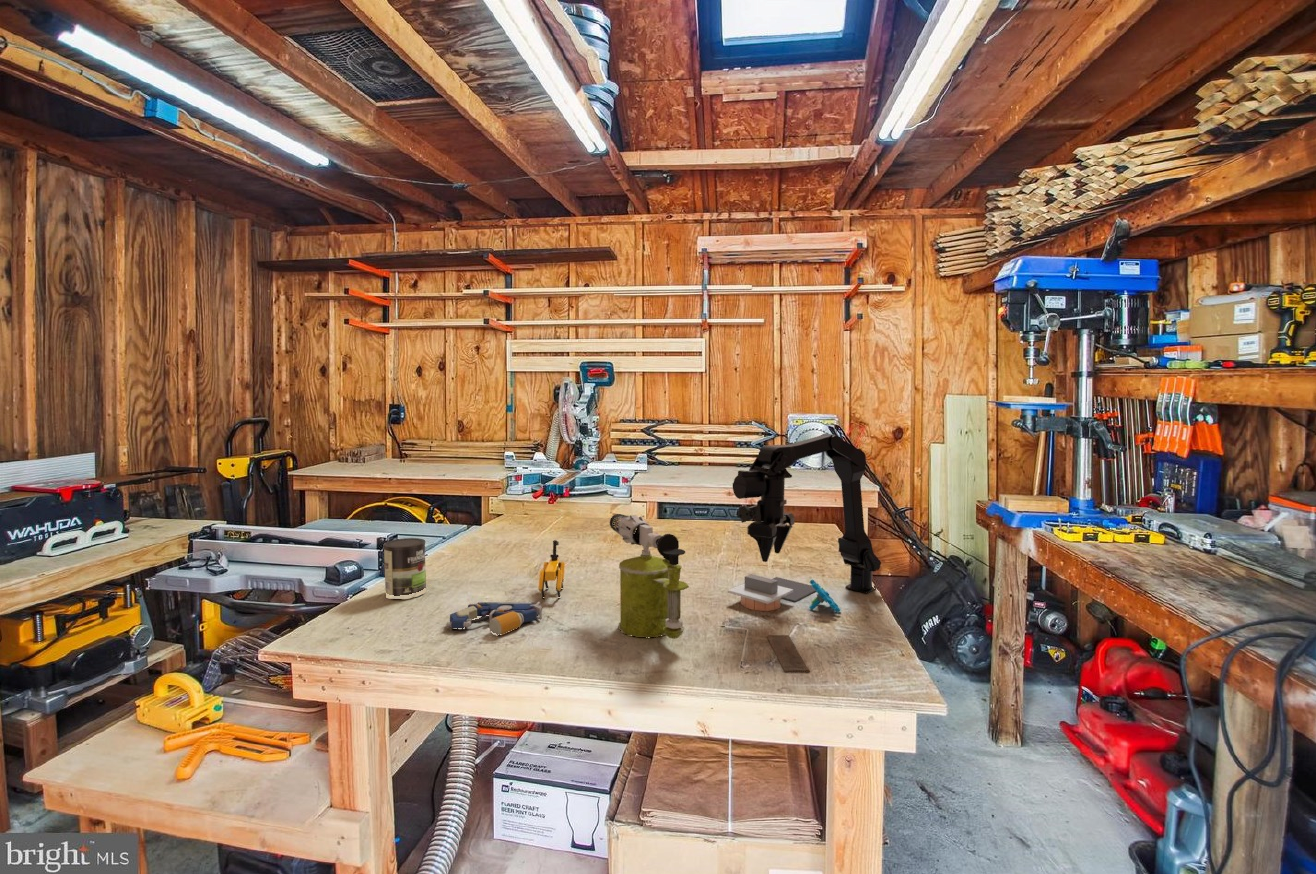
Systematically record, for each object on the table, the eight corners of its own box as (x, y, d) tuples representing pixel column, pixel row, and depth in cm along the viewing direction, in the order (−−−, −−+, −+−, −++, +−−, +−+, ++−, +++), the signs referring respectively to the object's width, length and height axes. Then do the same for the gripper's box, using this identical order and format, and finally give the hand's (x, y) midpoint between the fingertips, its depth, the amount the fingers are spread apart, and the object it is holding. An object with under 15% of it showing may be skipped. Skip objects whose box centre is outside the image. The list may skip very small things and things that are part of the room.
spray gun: (530, 639, 128) (547, 614, 143) (529, 620, 128) (546, 598, 143) (438, 639, 129) (465, 615, 144) (437, 620, 129) (464, 598, 144)
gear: (844, 613, 139) (814, 581, 141) (826, 629, 139) (796, 597, 141) (840, 603, 149) (812, 573, 151) (823, 618, 150) (796, 588, 152)
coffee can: (434, 589, 160) (433, 539, 159) (407, 602, 150) (406, 548, 149) (404, 585, 163) (403, 536, 162) (376, 597, 153) (374, 545, 152)
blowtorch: (653, 661, 117) (653, 539, 115) (594, 608, 146) (593, 510, 144) (708, 648, 123) (709, 532, 121) (640, 600, 152) (640, 505, 150)
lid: (754, 581, 158) (754, 568, 158) (793, 591, 150) (793, 578, 149) (727, 592, 149) (728, 578, 149) (768, 604, 141) (768, 589, 141)
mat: (776, 578, 170) (776, 577, 170) (820, 589, 161) (820, 587, 161) (749, 589, 160) (749, 588, 160) (795, 602, 151) (795, 600, 151)
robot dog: (567, 581, 167) (567, 535, 166) (560, 603, 149) (560, 552, 148) (547, 581, 167) (546, 536, 166) (538, 604, 149) (537, 553, 148)
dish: (755, 594, 157) (755, 583, 156) (787, 603, 150) (788, 591, 150) (733, 603, 149) (733, 592, 149) (766, 613, 142) (766, 601, 142)
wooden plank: (766, 633, 129) (788, 632, 129) (766, 639, 129) (788, 637, 129) (785, 670, 112) (810, 669, 112) (785, 677, 112) (810, 675, 112)
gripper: (755, 488, 158) (754, 545, 159) (727, 498, 141) (726, 561, 142) (795, 492, 152) (794, 550, 153) (771, 502, 136) (770, 568, 137)
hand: (771, 557), depth 146 cm, fingers open, 9 cm apart
